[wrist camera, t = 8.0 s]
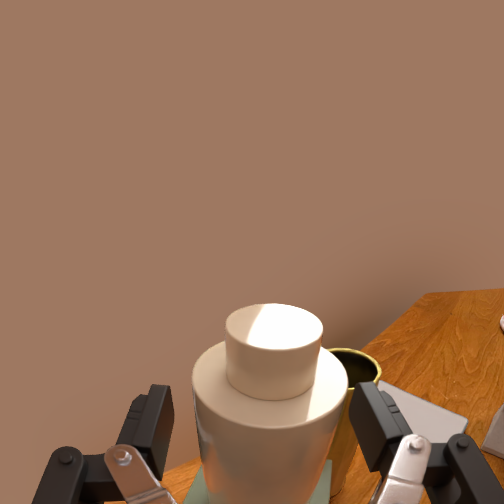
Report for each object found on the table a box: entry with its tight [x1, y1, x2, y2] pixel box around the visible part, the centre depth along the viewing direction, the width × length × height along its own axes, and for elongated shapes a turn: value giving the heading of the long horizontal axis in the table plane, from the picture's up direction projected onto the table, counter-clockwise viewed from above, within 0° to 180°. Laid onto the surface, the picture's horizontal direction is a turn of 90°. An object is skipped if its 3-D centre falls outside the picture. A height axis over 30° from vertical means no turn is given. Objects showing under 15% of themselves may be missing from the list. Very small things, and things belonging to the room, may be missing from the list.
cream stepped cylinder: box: [191, 304, 348, 504], centre depth 12 cm, size 6×6×12 cm
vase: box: [326, 348, 382, 498], centre depth 22 cm, size 6×6×14 cm
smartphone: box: [377, 380, 468, 443], centre depth 29 cm, size 8×1×15 cm
